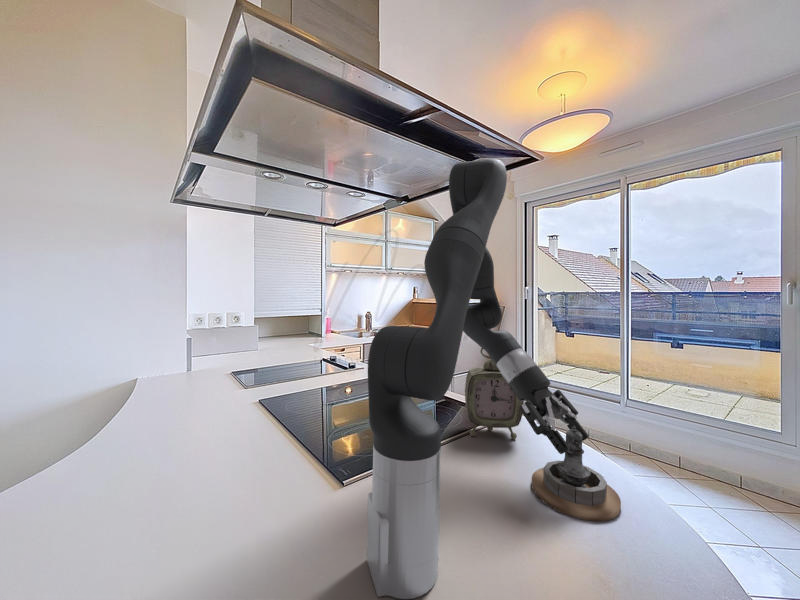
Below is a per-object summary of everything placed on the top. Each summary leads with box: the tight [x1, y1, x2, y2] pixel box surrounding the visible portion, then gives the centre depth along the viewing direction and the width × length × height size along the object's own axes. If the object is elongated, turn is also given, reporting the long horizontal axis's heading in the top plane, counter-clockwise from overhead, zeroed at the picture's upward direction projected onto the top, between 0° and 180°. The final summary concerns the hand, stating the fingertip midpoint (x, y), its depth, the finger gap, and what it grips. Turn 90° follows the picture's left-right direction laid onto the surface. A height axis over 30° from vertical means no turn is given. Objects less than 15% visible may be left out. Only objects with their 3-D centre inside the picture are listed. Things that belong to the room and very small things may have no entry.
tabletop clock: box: [464, 347, 525, 440], centre depth 88 cm, size 14×9×25 cm, turn 83°
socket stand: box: [531, 460, 622, 522], centre depth 62 cm, size 15×15×4 cm
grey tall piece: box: [556, 426, 591, 488], centre depth 62 cm, size 6×6×12 cm
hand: (575, 445), depth 61 cm, fingers open, 8 cm apart
